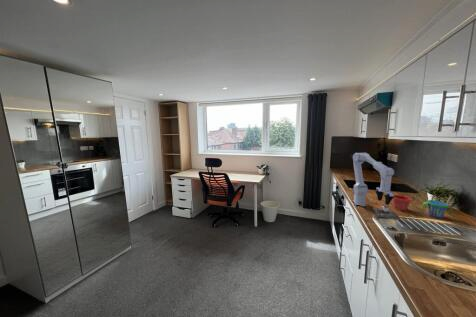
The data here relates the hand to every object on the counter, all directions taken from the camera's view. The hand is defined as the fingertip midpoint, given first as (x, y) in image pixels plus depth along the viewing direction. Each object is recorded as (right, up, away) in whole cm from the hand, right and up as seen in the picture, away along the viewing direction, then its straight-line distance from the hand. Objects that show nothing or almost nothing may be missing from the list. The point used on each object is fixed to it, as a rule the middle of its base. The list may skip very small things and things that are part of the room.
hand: (383, 202), depth 134 cm
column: (+4, -10, +3) cm, 11 cm away
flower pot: (+23, -8, +13) cm, 28 cm away
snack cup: (+38, -10, 0) cm, 40 cm away
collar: (+4, -10, +3) cm, 11 cm away
